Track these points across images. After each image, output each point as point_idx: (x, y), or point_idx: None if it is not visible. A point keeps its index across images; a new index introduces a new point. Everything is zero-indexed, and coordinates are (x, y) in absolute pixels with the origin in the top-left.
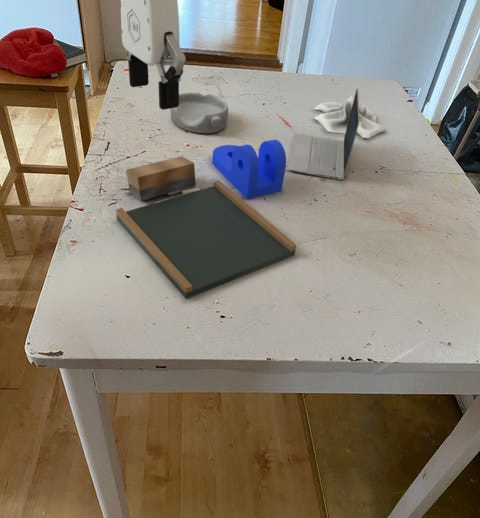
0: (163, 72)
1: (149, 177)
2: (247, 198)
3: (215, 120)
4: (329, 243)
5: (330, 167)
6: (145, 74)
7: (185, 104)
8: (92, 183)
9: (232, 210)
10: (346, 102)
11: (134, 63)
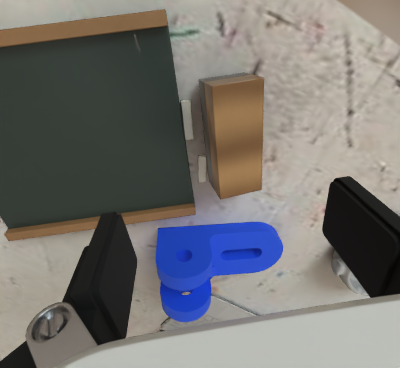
0: (38, 362)
1: (211, 110)
2: (158, 229)
3: (337, 267)
4: (38, 270)
5: (186, 326)
6: (342, 250)
7: None
8: (307, 8)
9: (122, 201)
10: None
11: (387, 251)
